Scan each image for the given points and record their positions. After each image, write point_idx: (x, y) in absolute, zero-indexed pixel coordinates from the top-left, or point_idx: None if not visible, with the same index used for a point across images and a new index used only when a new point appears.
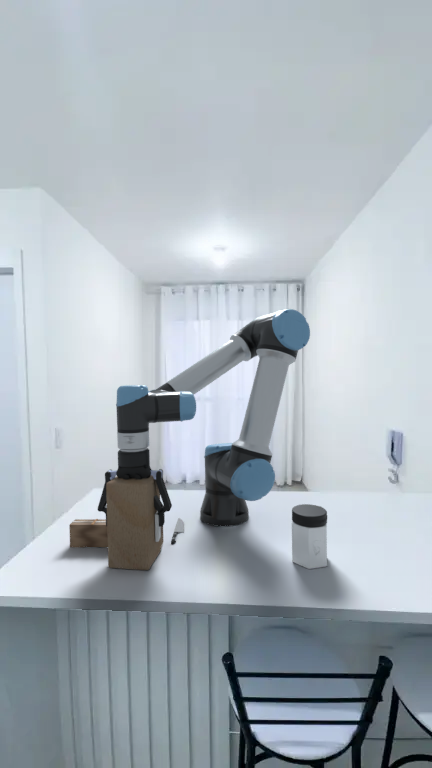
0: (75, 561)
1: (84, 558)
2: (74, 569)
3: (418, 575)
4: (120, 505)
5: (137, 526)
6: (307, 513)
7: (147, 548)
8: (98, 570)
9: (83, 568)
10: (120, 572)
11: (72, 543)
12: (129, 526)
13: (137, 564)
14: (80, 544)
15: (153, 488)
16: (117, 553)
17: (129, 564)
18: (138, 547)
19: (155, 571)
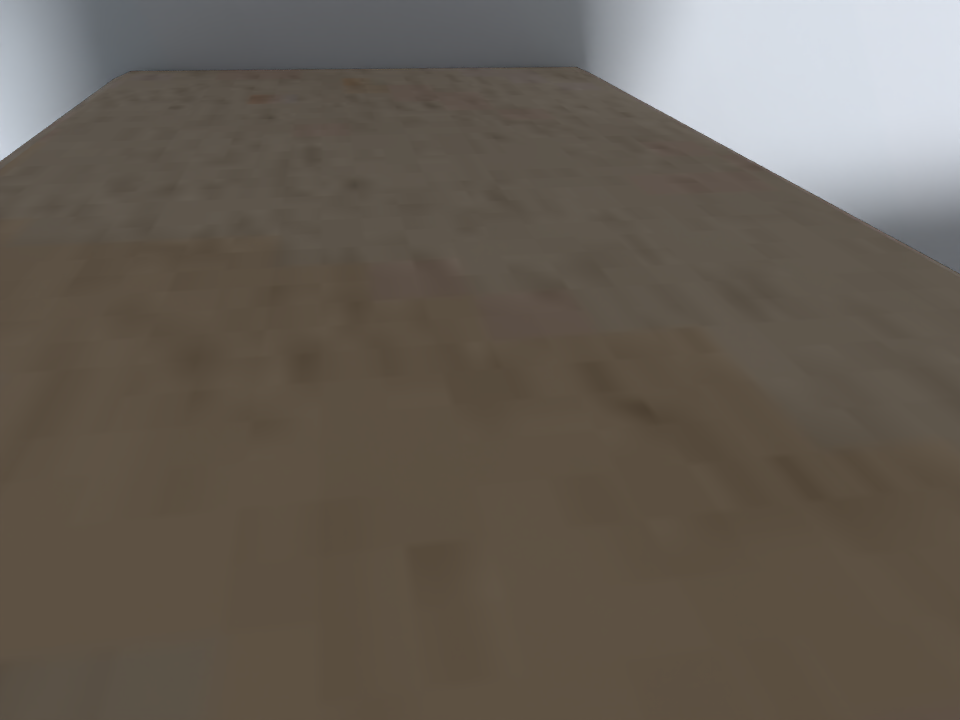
0: (933, 154)
1: (865, 217)
2: (912, 6)
3: None
4: (821, 553)
5: (130, 238)
6: None
7: (43, 130)
8: (672, 17)
9: (831, 37)
10: (425, 5)
11: None
12: (346, 227)
13: (244, 79)
14: None
15: None
16: (515, 96)
17: (345, 73)
18: (194, 122)
19: (32, 77)
